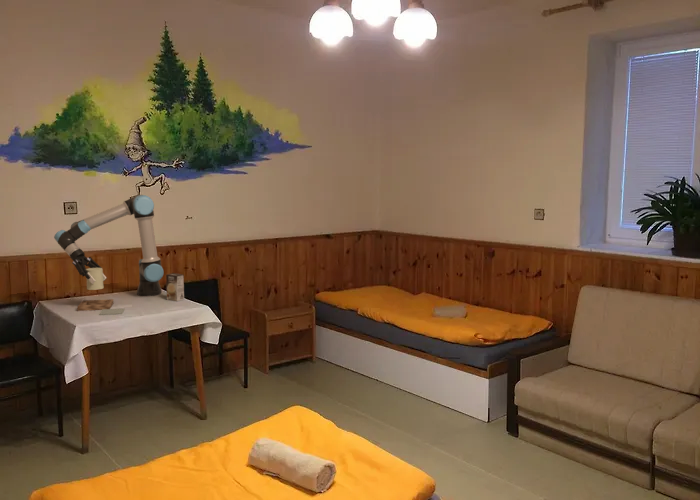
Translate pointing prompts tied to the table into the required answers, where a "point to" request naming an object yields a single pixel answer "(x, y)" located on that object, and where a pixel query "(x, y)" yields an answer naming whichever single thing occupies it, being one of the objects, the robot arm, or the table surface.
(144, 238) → the robot arm
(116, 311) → the mat
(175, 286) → the coffee box
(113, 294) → the table surface
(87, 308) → the puzzle board
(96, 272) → the can
